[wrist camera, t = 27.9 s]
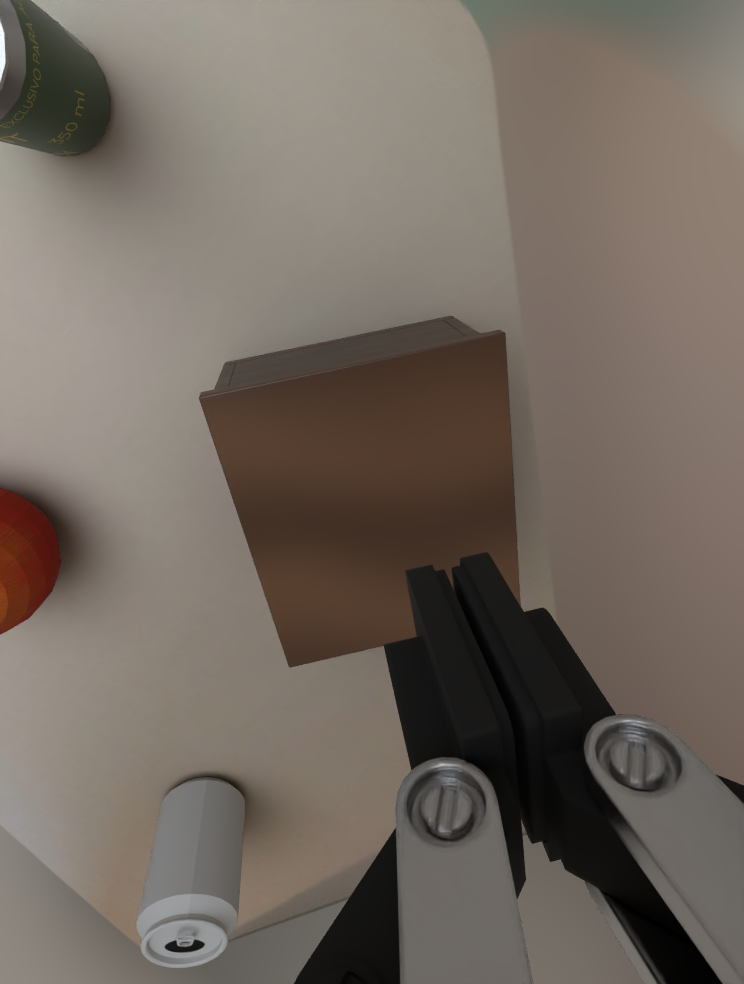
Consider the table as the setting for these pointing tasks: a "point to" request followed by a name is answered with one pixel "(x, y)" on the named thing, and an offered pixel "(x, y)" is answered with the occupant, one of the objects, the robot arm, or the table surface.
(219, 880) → the can
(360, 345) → the chest
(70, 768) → the table surface
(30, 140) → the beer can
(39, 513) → the fruit
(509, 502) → the chest lid
